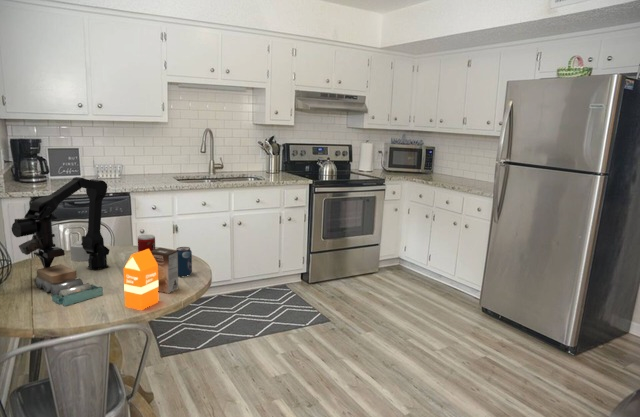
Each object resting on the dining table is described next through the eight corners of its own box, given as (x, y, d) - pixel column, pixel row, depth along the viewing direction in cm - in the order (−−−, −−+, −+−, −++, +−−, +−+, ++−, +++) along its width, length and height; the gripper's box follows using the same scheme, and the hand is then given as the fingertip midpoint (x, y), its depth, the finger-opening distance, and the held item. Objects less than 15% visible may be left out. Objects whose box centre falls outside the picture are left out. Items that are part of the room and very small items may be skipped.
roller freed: (87, 293, 169) (85, 283, 169) (92, 292, 167) (90, 282, 167) (60, 301, 161) (58, 290, 161) (65, 300, 159) (63, 289, 159)
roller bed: (68, 279, 181) (67, 269, 180) (104, 294, 167) (103, 283, 166) (29, 289, 169) (28, 278, 168) (63, 306, 155) (63, 295, 154)
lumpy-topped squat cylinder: (104, 259, 209) (103, 241, 207) (73, 263, 201) (71, 245, 200) (99, 253, 217) (98, 236, 215) (69, 257, 209) (68, 239, 208)
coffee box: (149, 290, 173) (148, 251, 170) (160, 285, 179) (159, 247, 176) (168, 294, 170) (167, 254, 167) (179, 288, 176) (178, 250, 173)
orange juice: (124, 306, 157) (122, 253, 153) (142, 298, 165) (140, 247, 161) (142, 310, 154) (140, 256, 151) (159, 301, 162) (157, 249, 159)
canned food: (149, 261, 208) (149, 239, 206) (134, 259, 210) (134, 237, 207) (158, 257, 215) (158, 235, 213) (144, 255, 217) (143, 233, 215)
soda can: (192, 276, 190) (192, 250, 188) (175, 278, 187) (175, 251, 185) (191, 271, 196) (191, 245, 194) (175, 272, 194) (174, 246, 192)
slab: (61, 271, 178) (60, 264, 177) (76, 277, 171) (76, 270, 171) (37, 277, 170) (36, 269, 170) (52, 284, 164) (51, 276, 163)
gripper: (10, 231, 170) (13, 269, 173) (32, 240, 160) (35, 280, 163) (41, 226, 180) (43, 263, 182) (63, 234, 169) (66, 273, 172)
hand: (46, 269), depth 175 cm, fingers closed
